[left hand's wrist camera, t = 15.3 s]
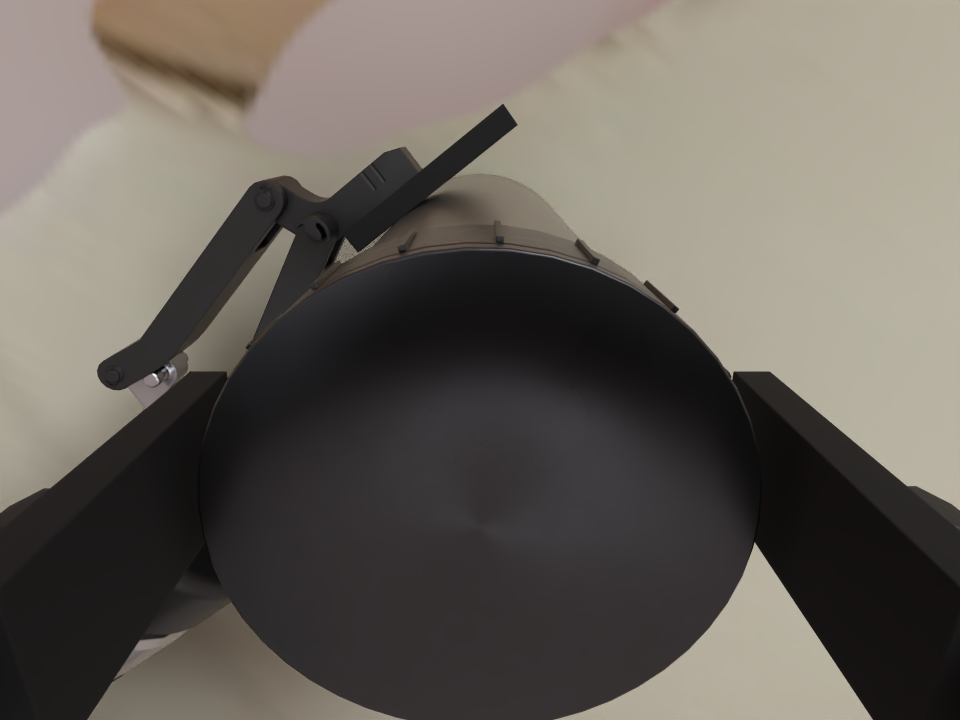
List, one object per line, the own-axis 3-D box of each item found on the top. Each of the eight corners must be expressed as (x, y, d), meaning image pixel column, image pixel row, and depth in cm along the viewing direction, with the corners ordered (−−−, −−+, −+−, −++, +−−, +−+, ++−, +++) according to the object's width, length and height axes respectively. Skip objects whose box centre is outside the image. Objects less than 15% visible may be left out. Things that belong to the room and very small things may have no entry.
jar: (431, 380, 30) (361, 735, 12) (357, 217, 27) (133, 376, 10) (595, 319, 29) (775, 615, 11) (535, 143, 26) (650, 173, 9)
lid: (631, 667, 14) (657, 763, 12) (227, 597, 13) (179, 685, 11) (788, 285, 11) (862, 323, 9) (270, 166, 10) (215, 176, 8)
